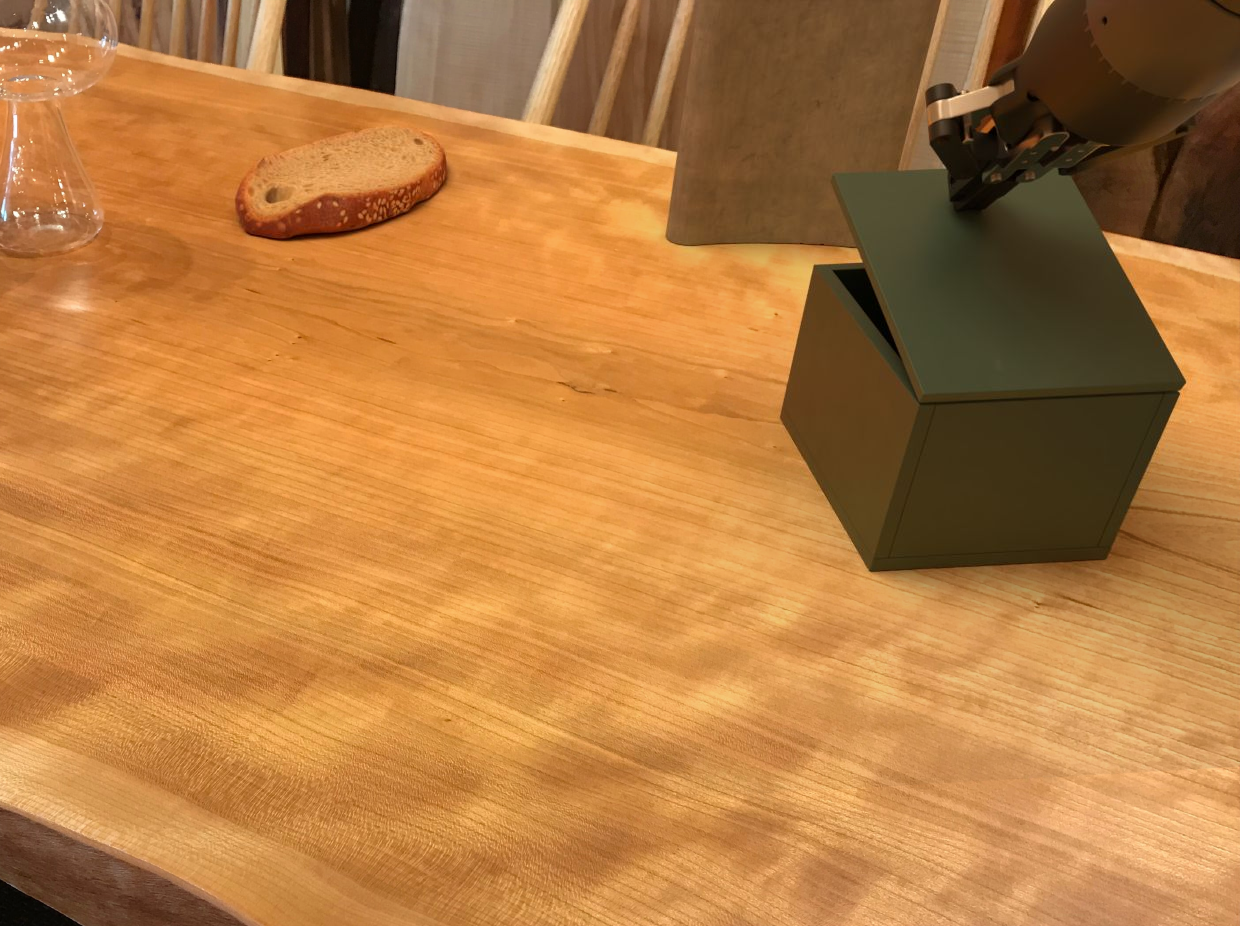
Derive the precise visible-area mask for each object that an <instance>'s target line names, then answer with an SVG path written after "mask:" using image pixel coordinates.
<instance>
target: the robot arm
mask: <svg viewBox="0 0 1240 926" xmlns="http://www.w3.org/2000/svg"><path fill="white" fill-rule="evenodd" d="M1238 83H1240V0H1053V1H1052V2H1051V3H1050V4H1049V6H1048V7H1047V9H1046V10H1045V12H1044V13H1043V15H1042V16H1041V18H1040V20H1039V22H1038V24H1037V26H1036V28H1035V30H1034V33H1033V35H1032V37H1031V39H1030V40H1029V43H1028V45H1027V47H1026V49H1025V51H1024V53H1022V54H1021V55H1020V56H1018V57H1016V58H1015V59H1013V60H1011V61H1010V62H1009V61H1008V62H1007V63H1005V64H1004V65H1002V66H1000V67H999V68H997V69H996V70H995V71H994V72H993V73H992V74H991V76H990V77H989V79H988V82H987V86H984V87H981V88H979V89H975V90H971V91H969V90H968V89H962V90H960V91H958V90H957V88H956V87H955V85H954V84H953V83H950V82H943V83H938V84H934V85H932V86H930V87H929V88H927V89H926V90H925V92H924V94H925V95H924V96H925V97H924V98H925V107H926V119H927V131H928V132H927V133H928V143H929V146H930V148H931V149H932V150H933V152H934V153H935V154H936V156H937V157H938V159H939V160H940V162H941V163H942V164H943V166H944V168H945V169H947V170H948V175H947V178H948V190H949V202H953V206H954V209H955V210H956V211H962V210H984V209H986V208H987V207H988V206H990V205H991V204H992V203H993V202H995V201H996V200H997V199H999V198H1001V197H1003V196H1005V195H1006V194H1007V193H1008V192H1010V191H1011V190H1012V189H1013V188H1014V187H1016V186H1017V185H1018V184H1019V183H1029V182H1032V181H1034V180H1037V179H1039V178H1041V177H1042V176H1044V175H1045V174H1046V173H1048V172H1049V171H1051V170H1052V169H1053V168H1058V174H1059V175H1061V176H1075V175H1078V174H1080V173H1083V172H1085V171H1088V170H1091V169H1094V168H1096V167H1099V166H1102V165H1105V164H1107V163H1110V162H1113V161H1117V160H1119V159H1122V158H1125V157H1127V156H1130V155H1133V154H1136V153H1139V152H1142V151H1144V150H1147V149H1150V148H1153V147H1155V146H1158V145H1161V144H1164V143H1168V142H1170V141H1173V140H1175V139H1179V138H1181V137H1185V136H1187V135H1190V134H1192V133H1194V132H1195V131H1197V130H1198V118H1197V113H1198V112H1200V111H1201V110H1203V109H1204V108H1206V107H1208V105H1210V104H1211V103H1213V102H1214V101H1215V100H1216V99H1218V98H1219V97H1220V96H1222V95H1223V94H1225V93H1226V92H1227V91H1229V90H1230V89H1231V88H1233V87H1235V85H1237V84H1238ZM988 116H991V119H990V120H988V122H987V123H986V124H985V125H984V126H983V127H982V128H981V129H980V131H977V129H978V128H979V127H980V126H981V124H982V123H981V121H982V120H983V119H984V118H986V117H988Z"/></svg>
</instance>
